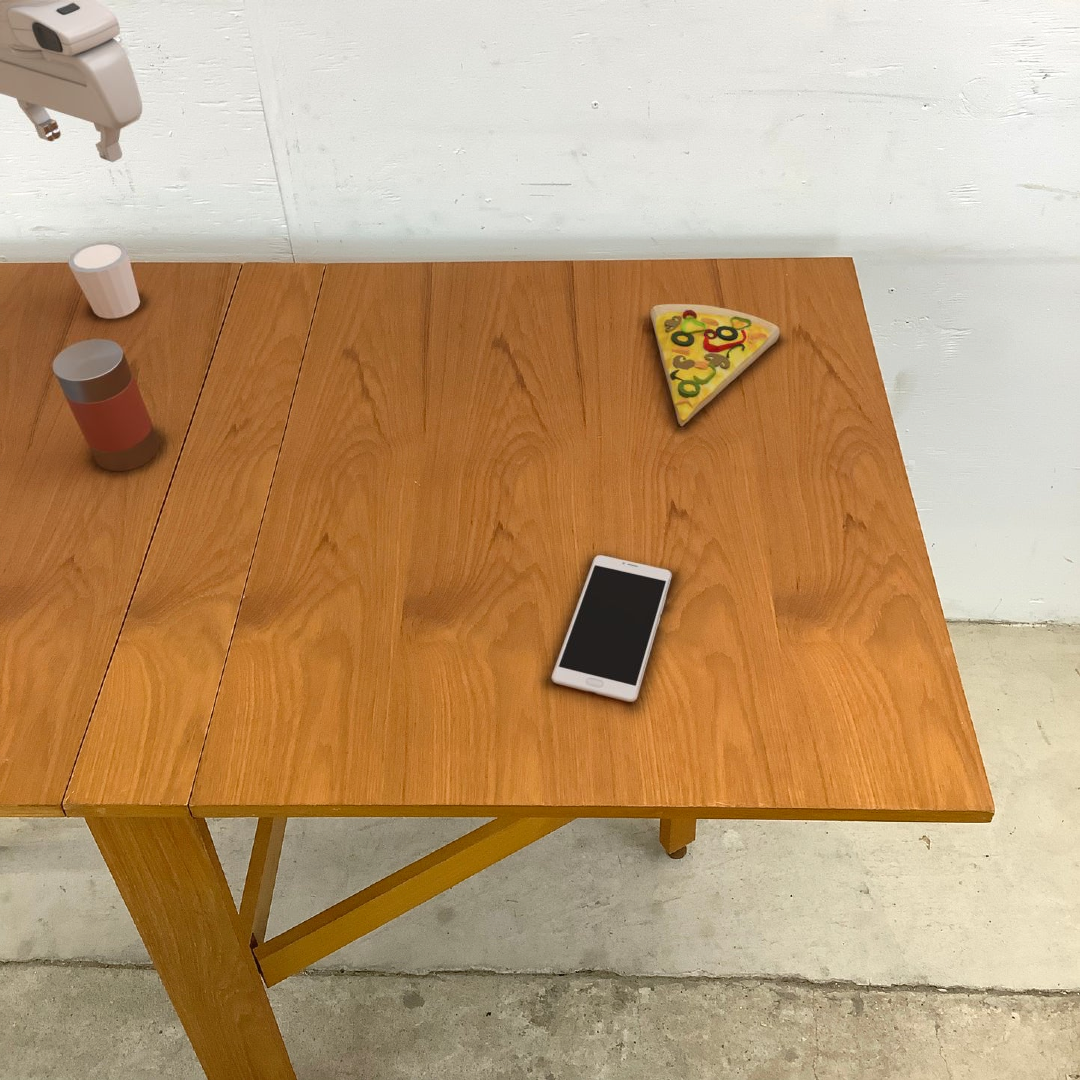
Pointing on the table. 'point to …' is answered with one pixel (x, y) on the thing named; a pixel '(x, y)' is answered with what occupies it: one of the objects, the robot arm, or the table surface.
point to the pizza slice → (706, 350)
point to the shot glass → (106, 278)
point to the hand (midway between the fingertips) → (81, 148)
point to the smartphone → (613, 628)
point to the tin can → (106, 404)
